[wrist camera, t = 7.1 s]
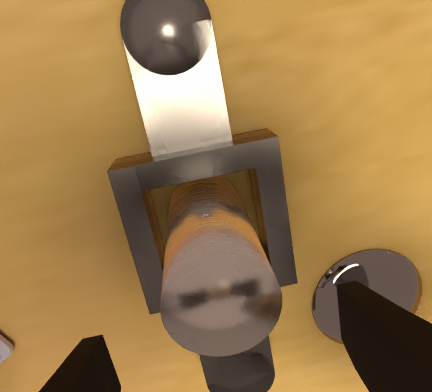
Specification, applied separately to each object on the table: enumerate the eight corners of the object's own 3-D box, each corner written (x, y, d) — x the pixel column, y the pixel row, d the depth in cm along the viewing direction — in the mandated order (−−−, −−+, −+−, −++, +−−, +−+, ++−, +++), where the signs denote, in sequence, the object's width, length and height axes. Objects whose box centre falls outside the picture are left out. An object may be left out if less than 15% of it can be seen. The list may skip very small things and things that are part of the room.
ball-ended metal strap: (299, 359, 25) (311, 389, 22) (180, 385, 25) (180, 417, 22) (243, -34, 17) (253, -50, 15) (70, 0, 17) (53, -11, 15)
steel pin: (202, 254, 22) (216, 375, 13) (153, 207, 20) (134, 306, 12) (255, 210, 21) (305, 307, 12) (208, 159, 20) (228, 227, 11)
